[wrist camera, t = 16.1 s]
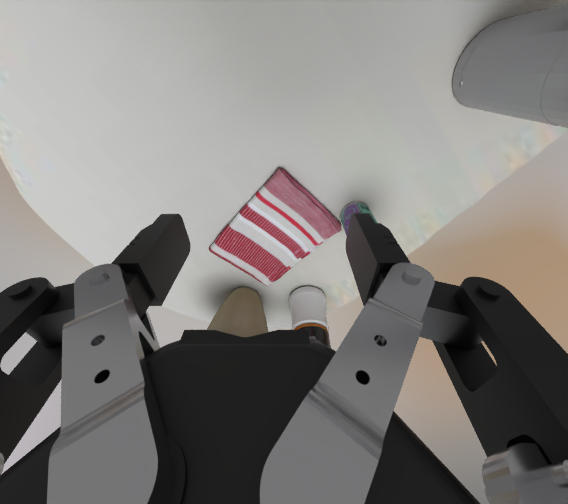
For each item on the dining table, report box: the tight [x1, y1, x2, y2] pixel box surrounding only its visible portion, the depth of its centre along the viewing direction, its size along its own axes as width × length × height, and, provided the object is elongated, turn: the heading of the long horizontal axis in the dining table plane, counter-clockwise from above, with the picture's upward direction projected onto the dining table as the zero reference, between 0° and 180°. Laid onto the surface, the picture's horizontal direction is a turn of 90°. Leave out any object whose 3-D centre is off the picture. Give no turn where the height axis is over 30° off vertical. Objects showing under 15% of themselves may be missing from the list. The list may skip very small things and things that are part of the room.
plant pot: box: [207, 287, 268, 337], centre depth 53 cm, size 15×15×16 cm
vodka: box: [289, 286, 331, 348], centre depth 48 cm, size 9×9×30 cm
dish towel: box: [209, 168, 342, 286], centre depth 47 cm, size 17×23×3 cm
